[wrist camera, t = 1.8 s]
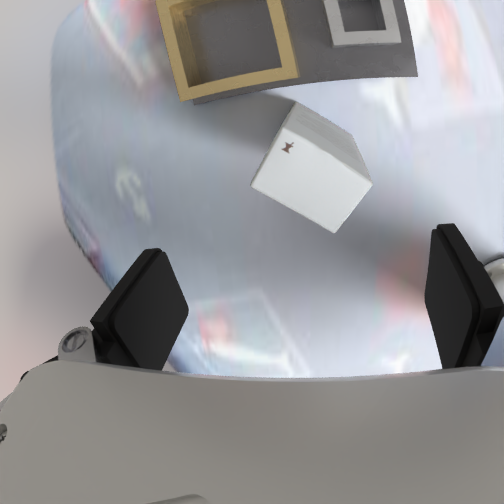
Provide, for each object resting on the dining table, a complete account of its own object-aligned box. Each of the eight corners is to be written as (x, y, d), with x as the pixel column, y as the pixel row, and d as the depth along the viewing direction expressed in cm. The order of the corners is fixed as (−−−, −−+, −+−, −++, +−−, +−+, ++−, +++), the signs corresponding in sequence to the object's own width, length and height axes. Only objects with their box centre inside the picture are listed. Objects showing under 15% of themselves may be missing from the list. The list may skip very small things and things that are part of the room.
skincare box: (273, 139, 28) (245, 186, 18) (296, 100, 26) (281, 123, 16) (330, 172, 29) (334, 237, 19) (354, 135, 26) (376, 182, 16)
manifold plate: (391, -35, 16) (401, -49, 13) (415, 76, 22) (429, 78, 19) (171, 1, 22) (151, -5, 18) (197, 103, 27) (180, 110, 24)
